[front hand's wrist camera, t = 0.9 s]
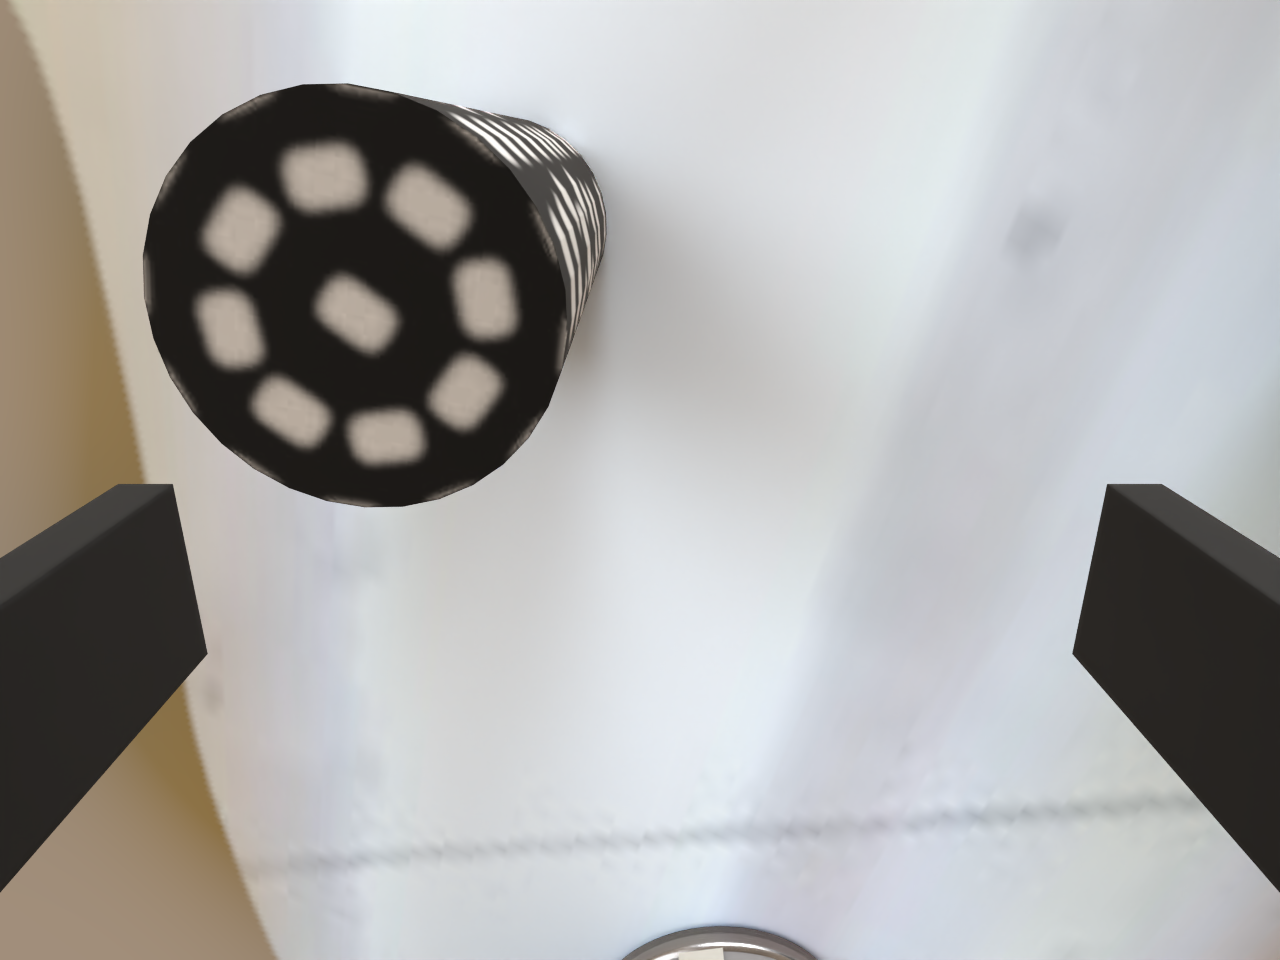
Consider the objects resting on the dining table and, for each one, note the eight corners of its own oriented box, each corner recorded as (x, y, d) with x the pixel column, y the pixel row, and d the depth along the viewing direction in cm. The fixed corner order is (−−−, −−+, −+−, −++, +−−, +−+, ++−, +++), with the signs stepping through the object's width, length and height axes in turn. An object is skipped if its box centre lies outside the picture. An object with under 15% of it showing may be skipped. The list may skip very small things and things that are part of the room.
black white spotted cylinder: (647, 207, 35) (652, 278, 17) (529, 363, 38) (419, 577, 19) (480, 69, 33) (276, -25, 15) (367, 242, 36) (70, 348, 17)
